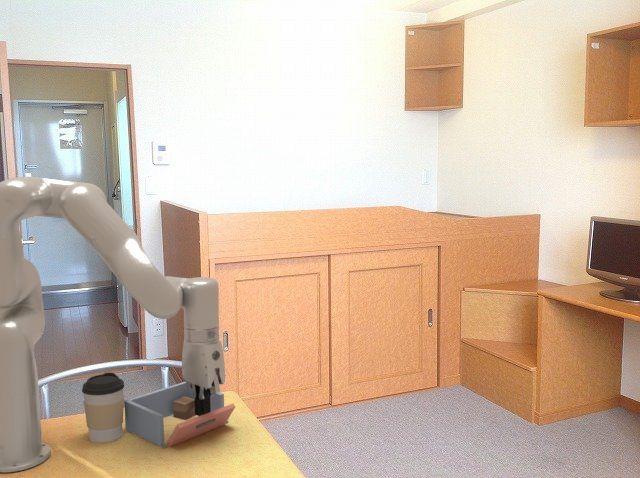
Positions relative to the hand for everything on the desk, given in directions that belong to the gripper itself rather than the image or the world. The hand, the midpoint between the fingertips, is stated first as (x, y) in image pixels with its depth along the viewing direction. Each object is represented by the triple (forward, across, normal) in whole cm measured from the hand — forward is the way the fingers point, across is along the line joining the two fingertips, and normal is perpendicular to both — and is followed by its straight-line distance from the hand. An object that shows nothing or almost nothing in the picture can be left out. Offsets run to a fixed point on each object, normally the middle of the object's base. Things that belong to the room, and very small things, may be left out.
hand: (202, 413), depth 142 cm
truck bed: (+7, +11, 0) cm, 13 cm away
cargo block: (+7, +14, -6) cm, 16 cm away
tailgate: (+6, +3, 0) cm, 6 cm away
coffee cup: (+8, +18, +13) cm, 24 cm away
